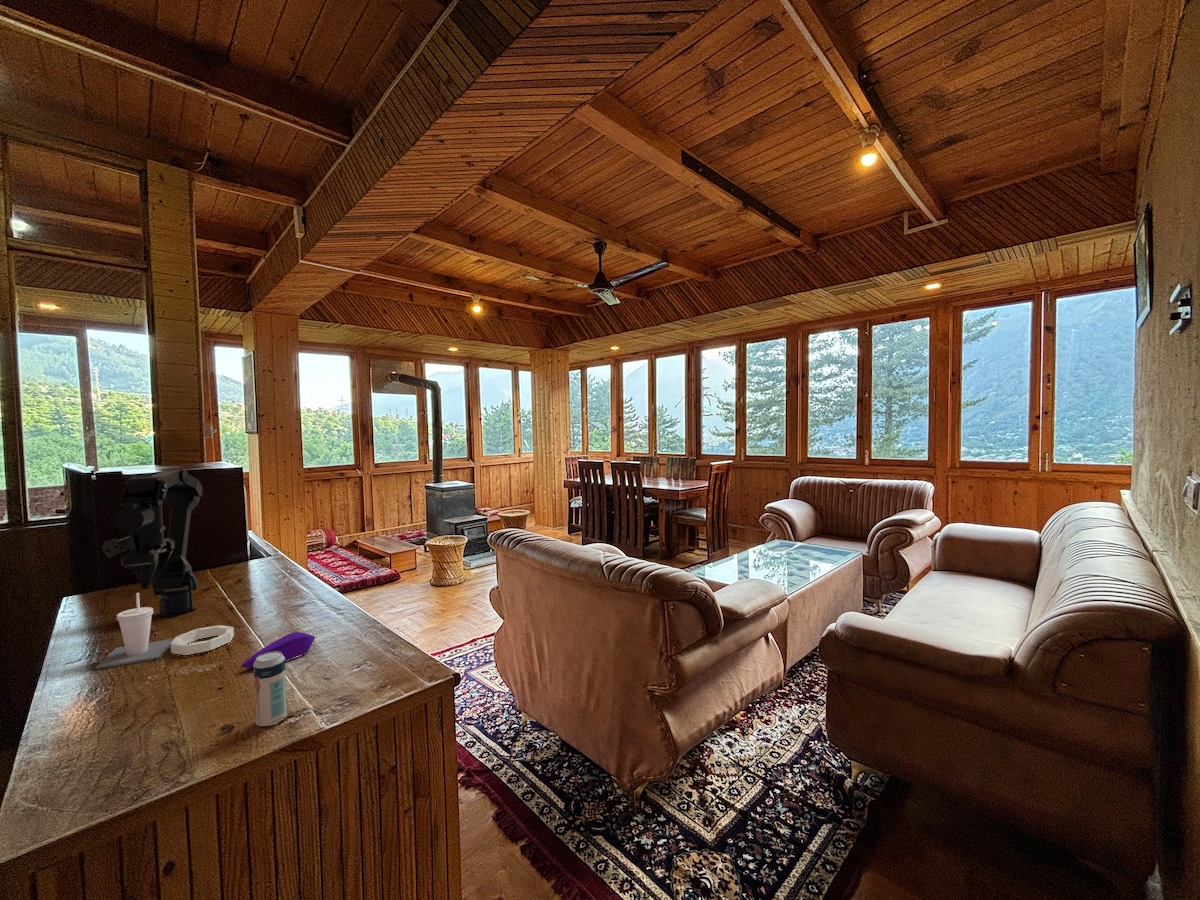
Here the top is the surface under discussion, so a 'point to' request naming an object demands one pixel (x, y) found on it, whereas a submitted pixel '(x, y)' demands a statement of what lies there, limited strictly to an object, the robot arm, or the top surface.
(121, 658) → the mat
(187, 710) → the top surface
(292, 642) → the purple tapered wedge
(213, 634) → the ring holder
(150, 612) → the smoothie
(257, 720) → the pill bottle
